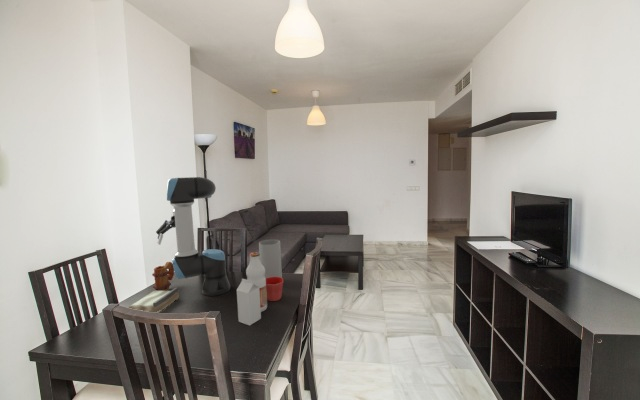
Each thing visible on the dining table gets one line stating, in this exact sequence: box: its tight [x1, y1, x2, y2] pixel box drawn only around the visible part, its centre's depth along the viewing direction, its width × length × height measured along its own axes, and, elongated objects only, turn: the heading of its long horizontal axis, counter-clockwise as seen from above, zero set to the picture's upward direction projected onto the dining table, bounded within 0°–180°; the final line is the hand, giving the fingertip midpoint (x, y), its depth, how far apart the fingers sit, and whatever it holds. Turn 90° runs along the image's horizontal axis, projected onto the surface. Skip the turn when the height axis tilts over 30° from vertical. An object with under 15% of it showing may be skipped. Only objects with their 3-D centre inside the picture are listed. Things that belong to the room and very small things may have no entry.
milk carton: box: [236, 278, 262, 326], centre depth 131 cm, size 7×7×19 cm
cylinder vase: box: [258, 239, 283, 279], centre depth 173 cm, size 12×12×25 cm
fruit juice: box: [245, 251, 268, 313], centre depth 141 cm, size 9×9×28 cm
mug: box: [151, 261, 175, 291], centre depth 169 cm, size 15×8×15 cm, turn 168°
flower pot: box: [266, 277, 284, 302], centre depth 154 cm, size 11×11×10 cm
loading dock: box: [128, 287, 180, 312], centre depth 149 cm, size 14×18×6 cm
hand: (170, 243), depth 178 cm, fingers open, 13 cm apart
